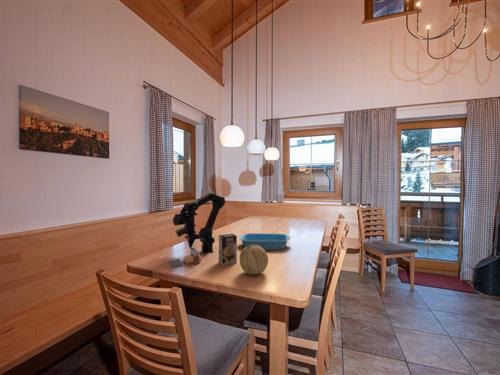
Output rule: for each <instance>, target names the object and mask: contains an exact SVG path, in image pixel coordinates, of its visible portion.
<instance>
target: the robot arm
mask: <svg viewBox="0 0 500 375" xmlns="http://www.w3.org/2000/svg"><path fill="white" fill-rule="evenodd" d="M210 201H211V203H212V204H211V205H212V209H211V211H210V213H209V216H208V218H207V221H206V223H205V226H204V227H203V228H202V227H201V228H200V229H199V232H198V233H197V232H196V230H195V229H196V226H197V225H196V223H195V222H196V221H195V216H198V213H197V212H196V211H197V210H198V209H199V207H201V206H202V205H204V204H207V203H208V202H210ZM225 204H226V199H225V197H224V196H220V195H217V194H215V193H212V192H209V193H207V194H205V195H203V196H201V197H199V198H198V199H196V200H193V201H188V202H185V203H184V204H183V207H182V209H181V210H180V212H179V213H175V214H174V216H173V218H172V223H173V225H174V226H181V225H183V227H181V228H178V229H176V230H175V234H176V236H177V237H178V238H180V237H182V236H184V235H185V236H184V237H183V238H185V239H186V241H187V245H188V248H189V249H190V248H193V246H194V243H195V241H196V240H199V241H200V243H201V252H202V253H204V254H210V253H214V252H215V251H214V249H213V248H214V247H213V246H214V243H215V241H216V240H215V238H214V237H213V227H214V225H215V223H216V219H217V218H218V215H219V211H220V210H221V209H222V208H223V207H224V206H225Z"/></svg>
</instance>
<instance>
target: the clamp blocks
mask: <svg viewBox="0 0 500 375" xmlns="http://www.w3.org/2000/svg"><path fill="white" fill-rule="evenodd" d="M190 256H193V254H192V253H191V252H190ZM193 264H194V265H199V264H200V261H199V256H198V257H195V256H194V263H193Z"/></svg>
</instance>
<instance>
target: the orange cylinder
mask: <svg viewBox="0 0 500 375" xmlns="http://www.w3.org/2000/svg"><path fill="white" fill-rule="evenodd" d="M201 261H202V256H201V255H200V256H199V262H201ZM183 264H184V265H188V264H194V255H193V256H191V255H188V256H184V257H183Z"/></svg>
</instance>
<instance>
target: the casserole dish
mask: <svg viewBox="0 0 500 375" xmlns="http://www.w3.org/2000/svg"><path fill="white" fill-rule="evenodd" d="M290 239H291V237H290V236H289V235H287V234H284V233H262V232H261V233H253V232H252V233H244V234H243V235H239V240H240V241H241V242H242V246H243V247H244V248H246V247H248V245H249V246H250V245H258V246H261V247H262V248H263V249H264V250H272V251H273V250H274V251H275V250H283V249H284V248H285V247H286V246H287V242H288V241H289V240H290Z"/></svg>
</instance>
